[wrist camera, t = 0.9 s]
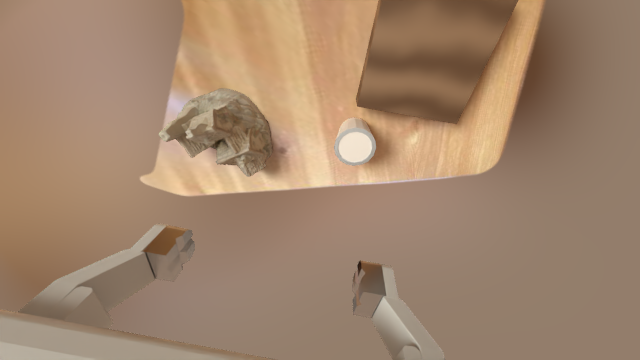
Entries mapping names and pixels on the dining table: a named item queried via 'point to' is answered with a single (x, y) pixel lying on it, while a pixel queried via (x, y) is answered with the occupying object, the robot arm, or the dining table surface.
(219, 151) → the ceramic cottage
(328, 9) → the dining table surface
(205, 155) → the dining table surface
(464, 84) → the walnut block
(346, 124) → the white cup
